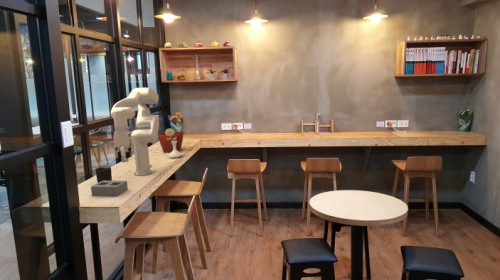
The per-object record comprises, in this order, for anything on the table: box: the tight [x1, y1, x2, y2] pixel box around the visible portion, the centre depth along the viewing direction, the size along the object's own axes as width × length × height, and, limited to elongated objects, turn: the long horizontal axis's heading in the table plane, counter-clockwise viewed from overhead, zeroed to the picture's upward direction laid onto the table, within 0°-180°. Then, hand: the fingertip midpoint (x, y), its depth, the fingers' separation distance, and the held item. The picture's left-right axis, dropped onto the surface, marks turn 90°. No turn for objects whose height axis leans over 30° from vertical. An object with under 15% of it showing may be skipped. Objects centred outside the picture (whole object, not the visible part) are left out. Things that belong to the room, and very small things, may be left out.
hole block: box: [90, 180, 129, 197], centre depth 202 cm, size 12×16×6 cm
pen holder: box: [94, 166, 113, 184], centre depth 221 cm, size 9×9×10 cm
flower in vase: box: [164, 128, 183, 159], centre depth 287 cm, size 13×11×25 cm
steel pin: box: [120, 147, 129, 163], centre depth 211 cm, size 4×4×11 cm
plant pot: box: [157, 131, 184, 153], centre depth 313 cm, size 19×19×17 cm
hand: (124, 157), depth 212 cm, fingers closed on steel pin, 4 cm apart
